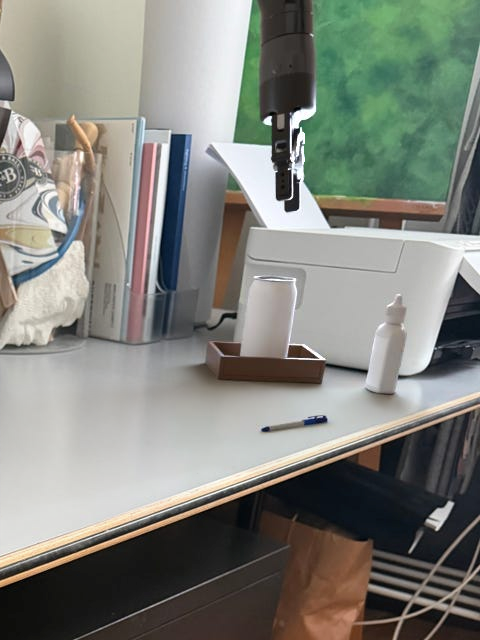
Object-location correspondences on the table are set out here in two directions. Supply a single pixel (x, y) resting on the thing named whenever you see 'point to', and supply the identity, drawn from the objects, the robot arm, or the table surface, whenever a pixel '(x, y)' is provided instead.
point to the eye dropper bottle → (388, 350)
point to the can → (269, 317)
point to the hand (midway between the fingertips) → (288, 206)
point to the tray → (265, 364)
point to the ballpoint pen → (296, 423)
